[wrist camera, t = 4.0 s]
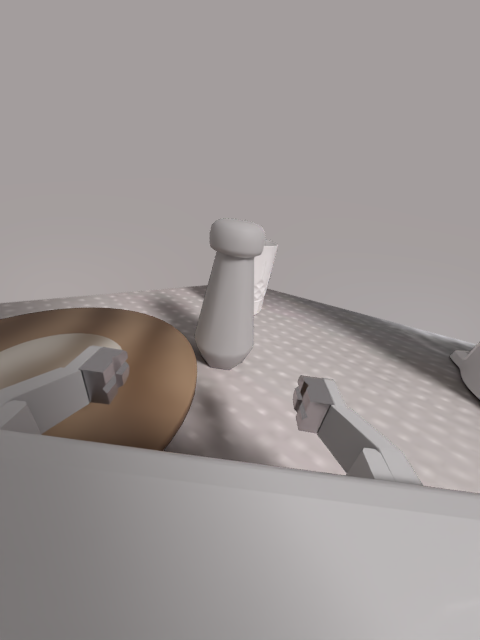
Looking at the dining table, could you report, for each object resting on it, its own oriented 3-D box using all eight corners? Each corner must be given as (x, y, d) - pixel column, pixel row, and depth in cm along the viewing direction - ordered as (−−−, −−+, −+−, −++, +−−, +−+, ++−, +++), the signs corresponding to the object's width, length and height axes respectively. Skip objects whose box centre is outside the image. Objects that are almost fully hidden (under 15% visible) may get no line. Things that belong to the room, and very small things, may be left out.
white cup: (230, 292, 39) (238, 233, 34) (271, 306, 36) (286, 243, 31) (203, 306, 32) (208, 235, 28) (250, 324, 30) (265, 248, 25)
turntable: (188, 315, 27) (189, 307, 27) (214, 513, 10) (216, 500, 10) (-21, 315, 21) (-27, 304, 21) (-711, 754, 5) (-833, 758, 4)
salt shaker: (189, 343, 24) (193, 211, 18) (237, 338, 26) (256, 219, 20) (201, 381, 19) (214, 220, 13) (259, 370, 22) (292, 229, 15)
